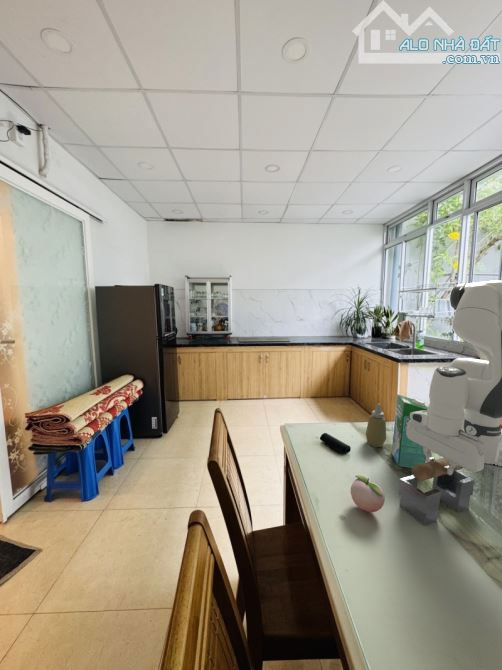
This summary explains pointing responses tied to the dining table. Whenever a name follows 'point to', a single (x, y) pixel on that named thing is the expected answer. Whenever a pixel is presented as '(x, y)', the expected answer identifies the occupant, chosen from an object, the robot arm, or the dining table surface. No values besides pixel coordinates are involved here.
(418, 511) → the bracket
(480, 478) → the dining table surface
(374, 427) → the squeeze bottle
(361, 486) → the decorative fruit
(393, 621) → the dining table surface
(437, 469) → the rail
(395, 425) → the milk carton
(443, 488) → the bracket
